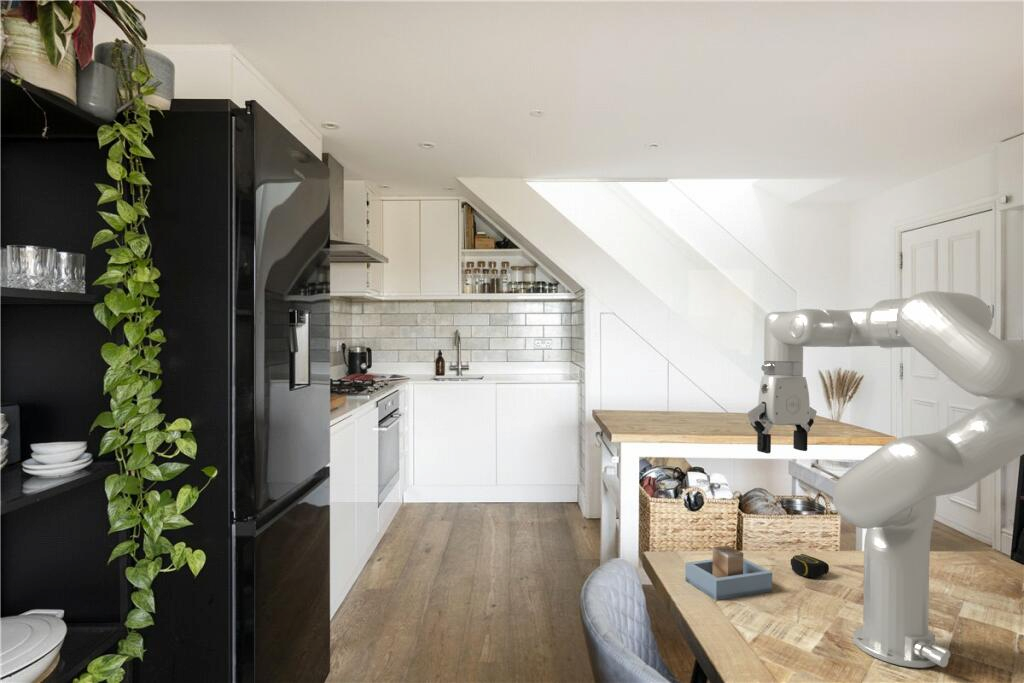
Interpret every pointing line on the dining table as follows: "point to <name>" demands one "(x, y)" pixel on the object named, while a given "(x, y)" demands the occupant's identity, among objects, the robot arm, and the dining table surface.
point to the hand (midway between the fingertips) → (782, 451)
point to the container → (728, 580)
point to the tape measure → (809, 566)
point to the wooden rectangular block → (727, 561)
